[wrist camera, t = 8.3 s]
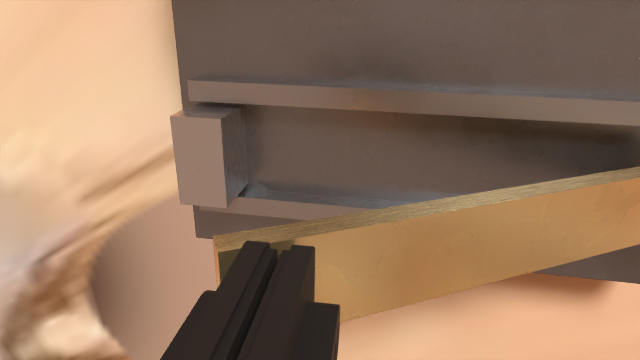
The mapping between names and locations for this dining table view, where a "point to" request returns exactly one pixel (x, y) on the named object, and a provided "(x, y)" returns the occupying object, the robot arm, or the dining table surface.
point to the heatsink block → (399, 106)
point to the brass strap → (455, 240)
